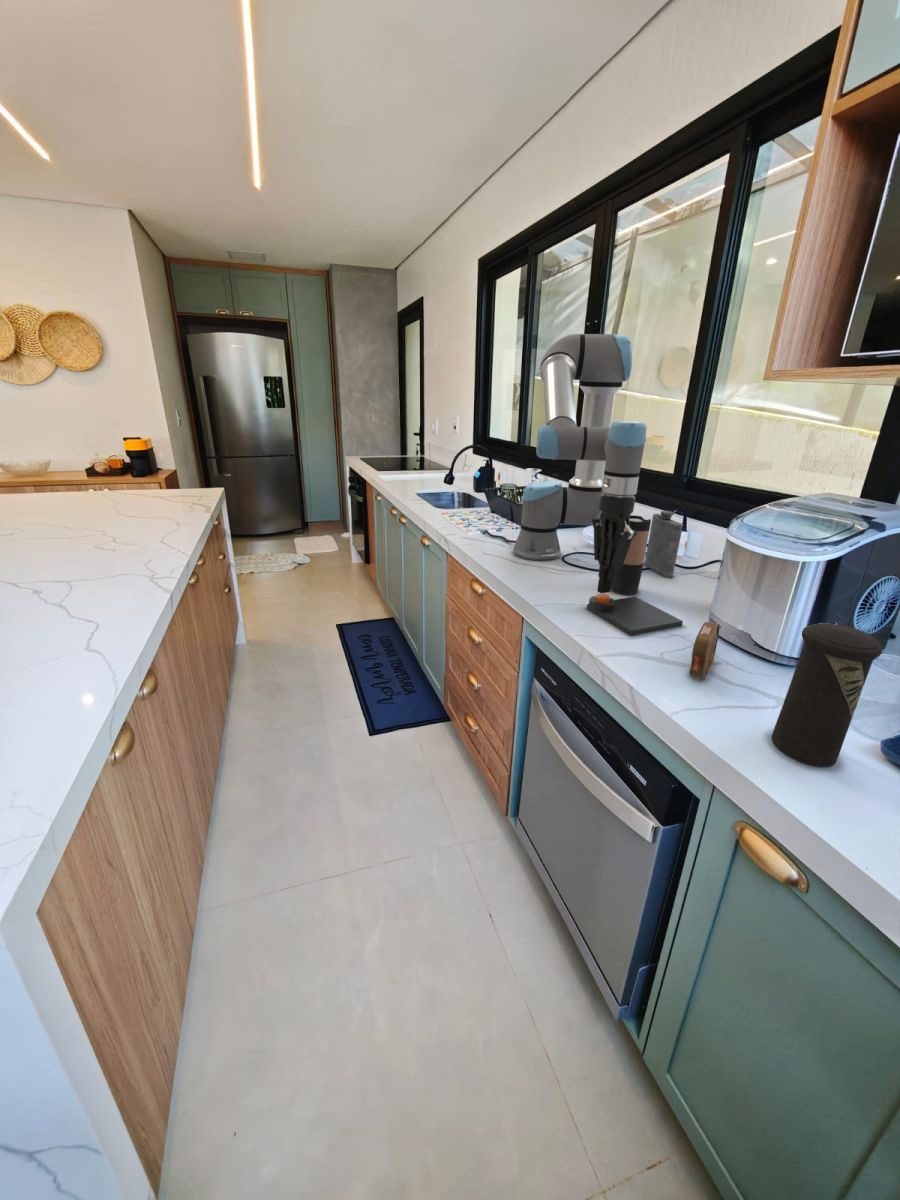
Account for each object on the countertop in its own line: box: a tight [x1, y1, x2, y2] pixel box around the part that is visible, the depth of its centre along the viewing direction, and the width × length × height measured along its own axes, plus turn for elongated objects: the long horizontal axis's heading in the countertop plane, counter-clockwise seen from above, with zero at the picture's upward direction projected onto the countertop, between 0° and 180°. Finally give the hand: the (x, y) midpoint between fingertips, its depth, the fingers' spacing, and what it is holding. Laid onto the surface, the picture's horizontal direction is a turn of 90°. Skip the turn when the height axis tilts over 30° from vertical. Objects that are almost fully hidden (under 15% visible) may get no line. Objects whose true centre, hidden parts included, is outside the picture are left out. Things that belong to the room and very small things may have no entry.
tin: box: [688, 621, 720, 681], centre depth 97 cm, size 15×3×8 cm, turn 145°
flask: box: [644, 510, 684, 578], centre depth 151 cm, size 4×14×18 cm, turn 6°
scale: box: [586, 595, 684, 637], centre depth 120 cm, size 16×16×3 cm
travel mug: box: [610, 514, 652, 596], centre depth 133 cm, size 8×8×20 cm
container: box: [771, 623, 883, 768], centre depth 73 cm, size 9×9×20 cm
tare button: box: [595, 593, 611, 604], centre depth 122 cm, size 3×3×2 cm
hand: (603, 591), depth 122 cm, fingers closed
